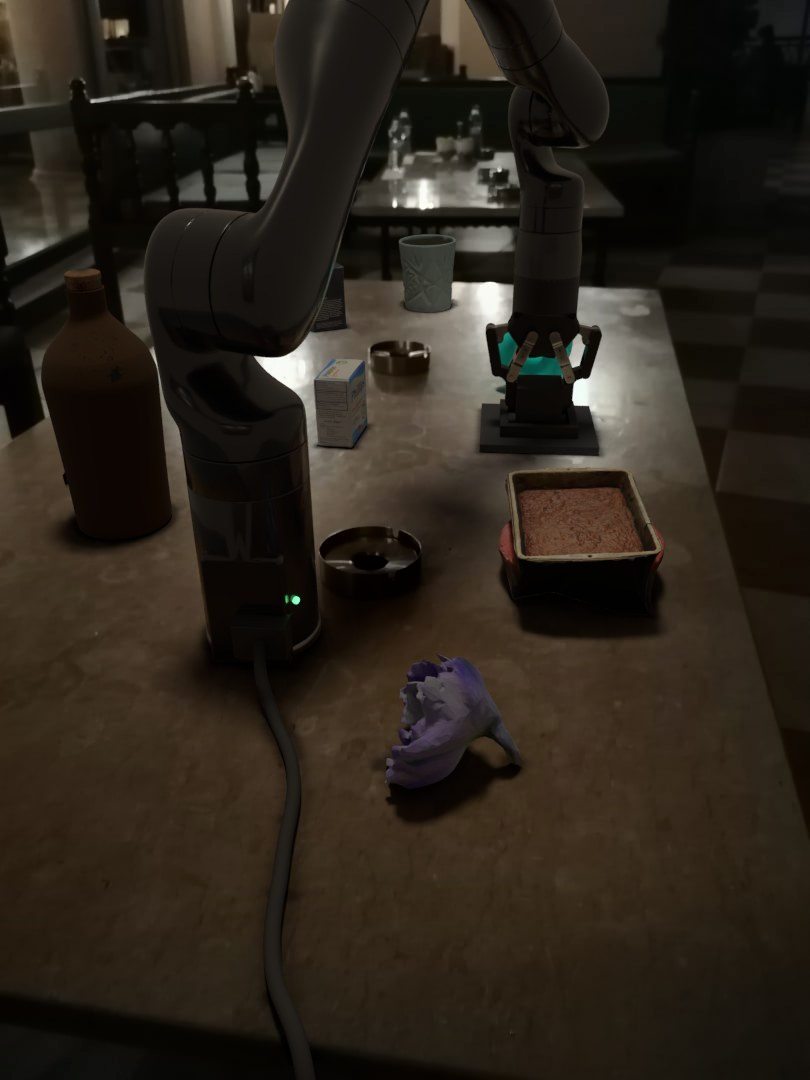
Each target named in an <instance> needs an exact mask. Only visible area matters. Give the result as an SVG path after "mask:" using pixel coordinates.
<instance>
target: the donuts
mask: <svg viewBox="0 0 810 1080" xmlns="http://www.w3.org/2000/svg"><path fill="white" fill-rule="evenodd" d="M573 341H574V340H573ZM573 341H572V342H571V343H570V344H569V346H568V347H567V348H566V351H567V354H568V357H569V358H570V356H571V353H572V350H573V345H574V344H573V343H574V342H573ZM498 345H499V351H500V357H501V364H504V365H506V366H509V364H510V362H511V360H512V358H513V355H514V352H515V350H516V348H517V344H516V343H515V341H514V340H513V338H512V337H511V335H510V334H509V333H506V334H505V335H504V340H503V342H502V343H500V344H498ZM519 374H528V375H561V378H563V373H562V370H561V368H560V366H559V363H558V360H557V357H555V358H546V357H537V358H529V356H528V358H527V360H526V362H525V364H524V366H523V367H522V368H521V370H520V372H519ZM501 379H502V381H504V382H505V383H506V381H505V380H504V379H503V378H501Z"/></svg>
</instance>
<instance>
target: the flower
mask: <svg viewBox="0 0 810 1080" xmlns="http://www.w3.org/2000/svg"><path fill="white" fill-rule="evenodd" d="M435 655H436V656H437V657H438V659H439V660H440V664H438V663H435V662H431V660H427V659H426V658H423V659H421V662H413V664H412V665H411V667H410V668H409V670H408V671H407V673H406V674H405V676H406V678H407V682H406V684H405V686H403V687H401V688H399V699H401V700H402V701H403V702H402V703H403V706H404V707H403V709H402V712H401V717H400V724H405V725H406V726H408V727H409V730H406V729H404V728H402V727H401V728H399V729H397V734H398V737H399V740H400V742H401V744H402V745H392V747H391V754H392V758H391V757H390V758H389V757H387V758H386V760H385V765H386V767H388V769H387V770H386V771H385V777H386V780H385V781H384V784H396V785H400V786H401V787H403V788H405V789H407V790H416V789H419V788H424V787H426V786H430V785H433V784H435V783H438V782H441V781H442V780H444V779H445V778H446V777H448V776H449V775H450V774H452V772H453V771H454V770H455V768H457V766H458V764H459V763H460V760H461V759H462V757H463V755H464V753H465V751H466V749H467V748H468V747H470V744H471V743H473V742H474V741H476V740H478V739H480V738H484V737H485V738H488V739H490V740H493V741H494V742H495V743H496V744H498V745H499V746H500V747H501V748H502V750H503V751H504V753H505V755H506V757H507V760H508V762H509V763H511V764H513V765H514V766H518V765H519V764H520V762H521V761H522V756H521V752H520V749H519V747H518V746H517V744H516V742H515V741H514V739H513V737H512V736H511V734H510V732H509V731H508V730H507V728H506V725H505V724H504V721H503V717H502V714H501V711H500V710H499V708H498V706H497V705H496V703H495V701H494V700H493V697H492V696H491V695H490V692H489V691H488V689H487V688H486V684H485V679H484V676H483V674H482V673H481V672H480V670H479V669H478V668H477V667H476V666H475V665H474V664H473V663H472V662H470V661H469V660H468V659H466V658H463V657H461V656H455V657H451V659H450V658H448V657H446V656H444V655H441V654H438V653H437V652H435Z"/></svg>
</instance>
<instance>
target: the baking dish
mask: <svg viewBox="0 0 810 1080" xmlns="http://www.w3.org/2000/svg"><path fill="white" fill-rule="evenodd" d="M504 487H505V491H506V494H507V500H508V505H509V513H510V519H509V521H507V522H506V524H504V526H503V528H502V529H501V532H500V536H499V537H500V538H499V541H498V545H497V547H498V552H499V554H500V557H501V560H502V564H503V567H504V570H505V573H506V577H507V580H508V584H509V590H510V593H511V596H512V599H521V598H527V597H532V596H533V597H534V596H539V595H546V594H556V595H560V596H563V597H566V598H569V599H571V600H575V601H579V602H582V603H585V604H588V605H591V606H594V607H598V608H601V609H604V610H607V611H611V612H614V613H618V614H632V615H643V616H652V615H653V606H652V590H653V586H654V581H655V576H656V573H657V570H658V568H659V567H660V565H661V563H662V561H663V559H664V555H665V547H666V546H665V541H664V538H663V536H662V535H661V533H660V531H659V530H658V529H657V528H656V527H655V526H654V524H653V522H652V519H651V516H650V515H649V513H648V510H647V507H646V505H645V502H644V499H643V497H642V494H641V491H640V490H639V488H638V485H637V482H636V479H635V476H634V474H632V472H631V471H630V470H627V469H625V468H621V467H615V468H613V467H548V468H537V469H519V470H515V471H512V472H509V473H508V474H507V476H506V478H505V485H504Z"/></svg>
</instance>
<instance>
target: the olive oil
mask: <svg viewBox="0 0 810 1080" xmlns="http://www.w3.org/2000/svg"><path fill="white" fill-rule="evenodd" d="M63 278H64V282H65V284H66V287H65V289H64V292H65V295H66V302H67V305H68V310H69V315H68V318H67V320H66V321H65V322H64V324H63V326H62V327H61V328H60V330H59V331H58V333H57V334H56V335H55V336H54V337H53V339H52V341H51V342H50V344H49V345H48V346H47V348H46V350H45V352H44V354H43V357H42V361H41V368H40V369H41V370H40V383H41V389H42V393H43V396H44V400H45V404H46V407H47V410H48V415H49V417H50V422H51V425H52V430H53V432H54V436H55V440H56V444H57V448H58V451H59V455H60V459H61V463H62V467H63V471H64V472H63V474H62V479H63V482H64V483H63V484H64V485H65V487H68V489H69V495H70V498H71V503H72V507H73V511H74V514H75V515H74V516H75V520H76V523H77V526H78V529H79V530H80V531H81V532H82V533H83V534H85V535H86V536H88V537H91V538H94V539H98V540H111V541H117V540H127V539H132V538H138V537H141V536H145V535H148V534H150V533H153V532H155V531H157V530H159V529H160V528H162V527H163V526H165V525H166V524H167V523H168V522H169V521H170V519H171V518H172V515H173V510H172V509H173V508H172V507H173V506H172V499H171V491H170V482H169V475H168V474H169V473H168V464H167V456H166V445H165V434H164V423H163V413H162V401H161V391H160V390H161V389H160V376H159V371H158V366H157V362H156V361H155V359H154V356H153V354H152V352H151V350H150V349H149V347H148V345H147V344H146V343H145V342H144V340H143V339H141V338H140V337H139V336H138V335H137V334H135V333H134V331H132V330H131V329H129V328H128V327H127V326H126V325H125V324H123V323H122V322H121V321H120V320H118V319H117V318H116V317H115V316H114V315H113V314H111V313H110V311H109V309H108V304H107V295H106V290H105V285H103V284H102V274H101V271H100V270H99V269H96V268H76V269H71V270H68V271H66V272H64V273H63Z"/></svg>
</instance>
